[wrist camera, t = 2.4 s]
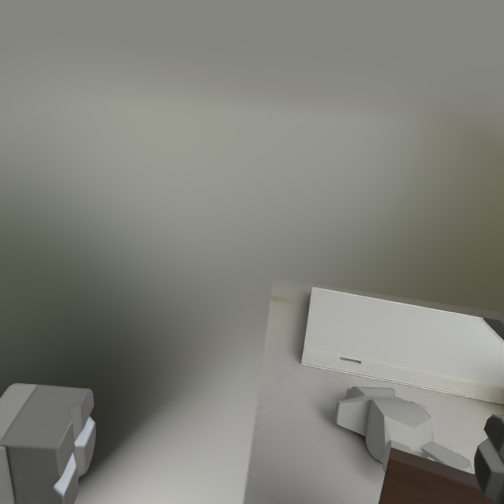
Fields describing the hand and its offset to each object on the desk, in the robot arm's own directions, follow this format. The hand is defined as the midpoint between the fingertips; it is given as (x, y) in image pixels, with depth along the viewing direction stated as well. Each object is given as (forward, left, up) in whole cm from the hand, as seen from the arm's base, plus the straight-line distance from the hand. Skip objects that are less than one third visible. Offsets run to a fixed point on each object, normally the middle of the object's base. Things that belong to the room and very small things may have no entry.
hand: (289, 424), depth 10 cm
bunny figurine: (+11, +34, -21) cm, 41 cm away
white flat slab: (+20, +65, -21) cm, 71 cm away
